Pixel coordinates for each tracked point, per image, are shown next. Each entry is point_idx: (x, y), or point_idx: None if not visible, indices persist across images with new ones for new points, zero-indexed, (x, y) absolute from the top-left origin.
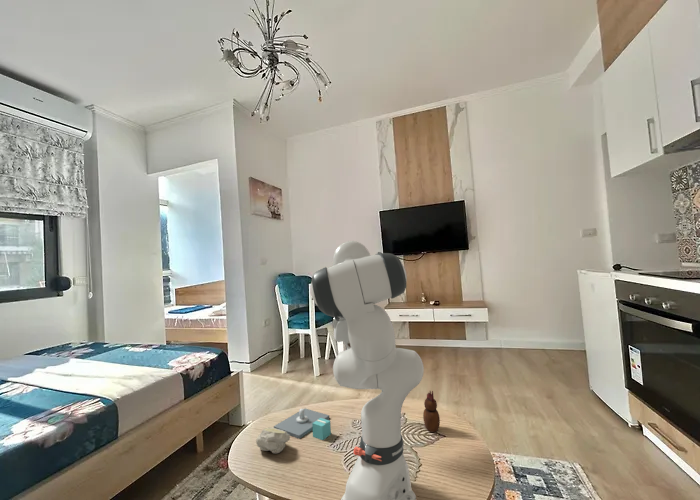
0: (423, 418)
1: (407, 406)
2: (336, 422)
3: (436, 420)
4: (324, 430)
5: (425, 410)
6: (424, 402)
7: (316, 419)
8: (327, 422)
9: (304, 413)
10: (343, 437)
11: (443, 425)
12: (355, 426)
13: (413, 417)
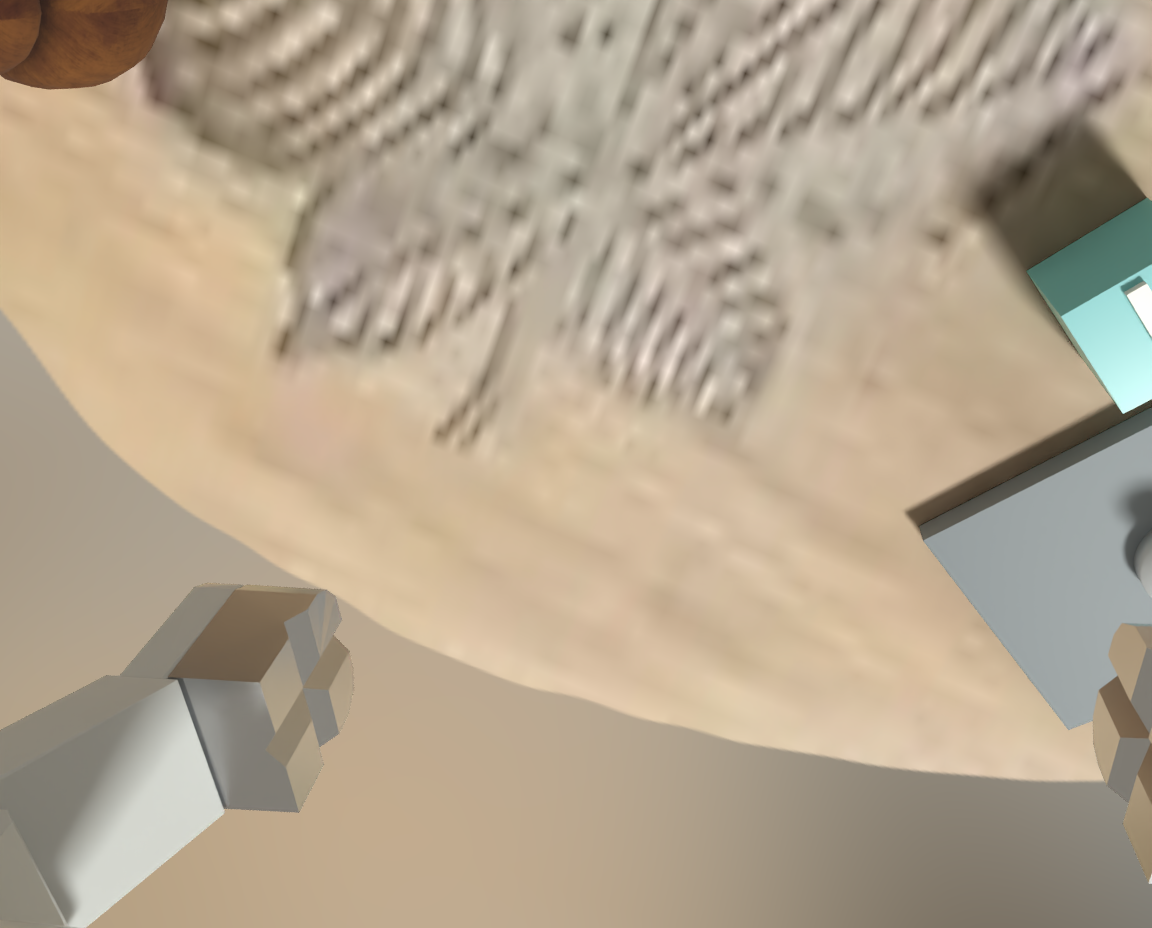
0: (136, 36)
1: (227, 439)
2: (890, 441)
3: None
4: (1143, 239)
5: (59, 8)
6: (6, 26)
7: (1061, 523)
8: (1106, 292)
9: None
10: (942, 171)
11: None
12: (760, 311)
13: (227, 250)
